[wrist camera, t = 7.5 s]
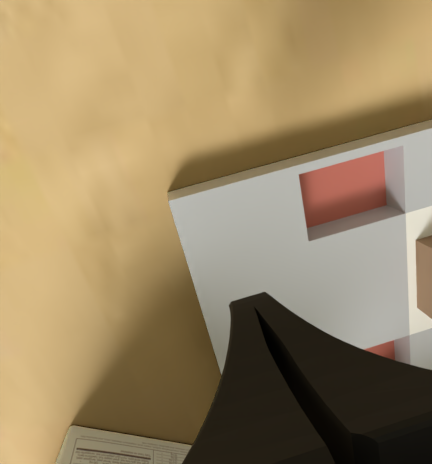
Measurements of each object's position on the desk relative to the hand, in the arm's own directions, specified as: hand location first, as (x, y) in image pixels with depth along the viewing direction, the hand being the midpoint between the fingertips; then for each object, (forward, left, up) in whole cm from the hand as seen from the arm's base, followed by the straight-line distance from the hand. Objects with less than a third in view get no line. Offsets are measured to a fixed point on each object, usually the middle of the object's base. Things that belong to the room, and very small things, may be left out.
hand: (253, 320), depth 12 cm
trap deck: (-8, +6, -9) cm, 14 cm away
